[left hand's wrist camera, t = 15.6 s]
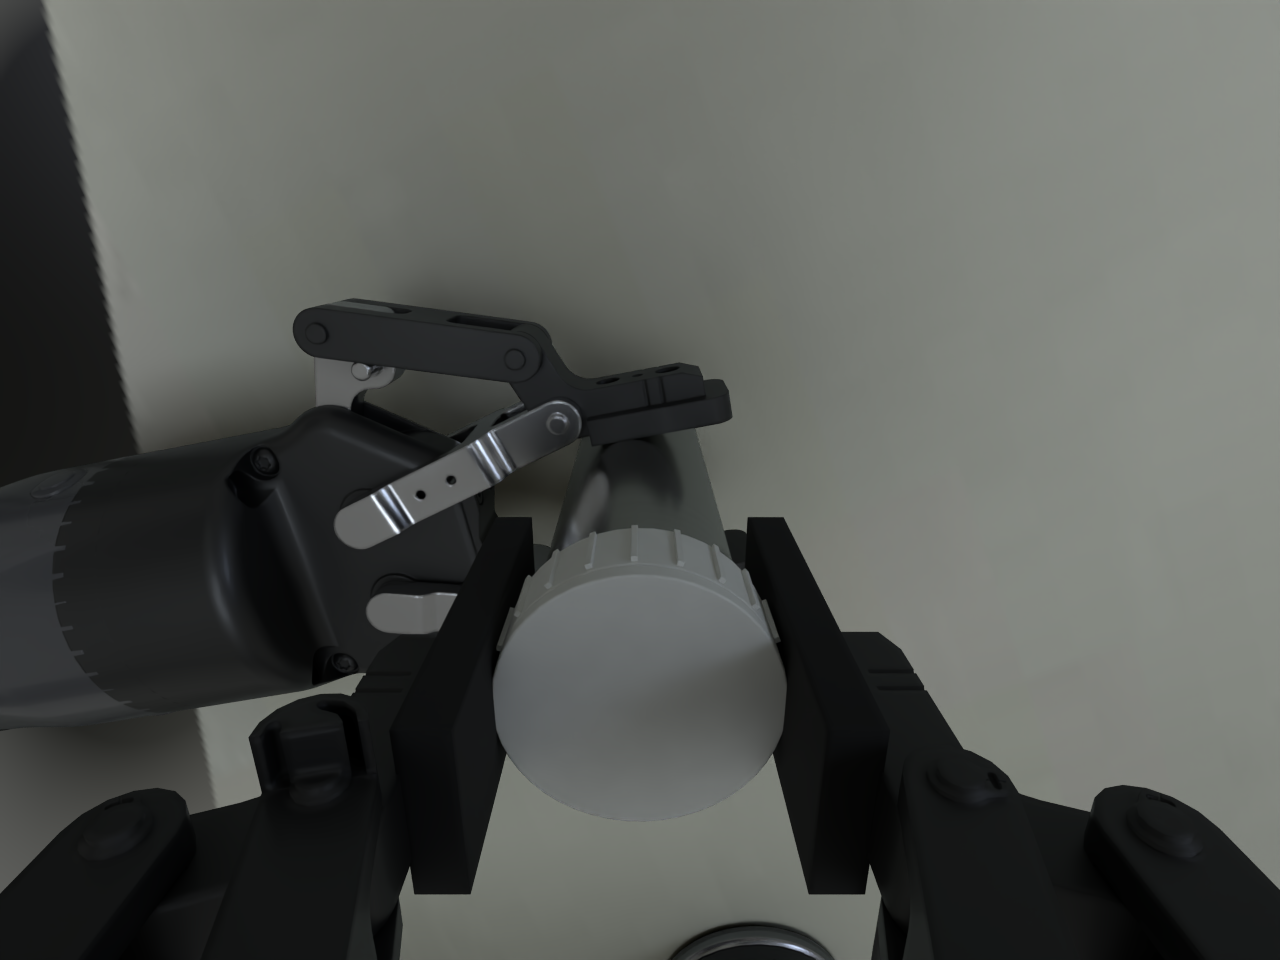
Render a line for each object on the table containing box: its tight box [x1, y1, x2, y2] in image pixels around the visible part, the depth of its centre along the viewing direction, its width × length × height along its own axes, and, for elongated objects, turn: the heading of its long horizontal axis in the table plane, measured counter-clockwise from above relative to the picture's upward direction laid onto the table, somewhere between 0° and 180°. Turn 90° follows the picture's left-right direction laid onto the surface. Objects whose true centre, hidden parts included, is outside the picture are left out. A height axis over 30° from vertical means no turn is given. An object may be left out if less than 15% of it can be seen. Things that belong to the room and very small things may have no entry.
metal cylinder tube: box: [547, 428, 732, 561], centre depth 18 cm, size 4×4×15 cm
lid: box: [492, 525, 787, 821], centre depth 11 cm, size 5×5×2 cm
